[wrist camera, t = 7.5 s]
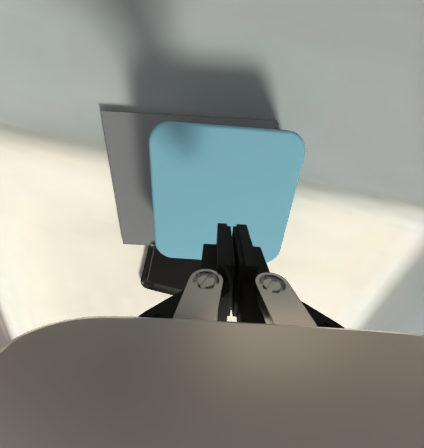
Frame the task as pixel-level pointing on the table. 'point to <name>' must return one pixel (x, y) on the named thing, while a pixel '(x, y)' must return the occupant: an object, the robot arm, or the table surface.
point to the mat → (144, 165)
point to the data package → (221, 184)
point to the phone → (167, 272)
